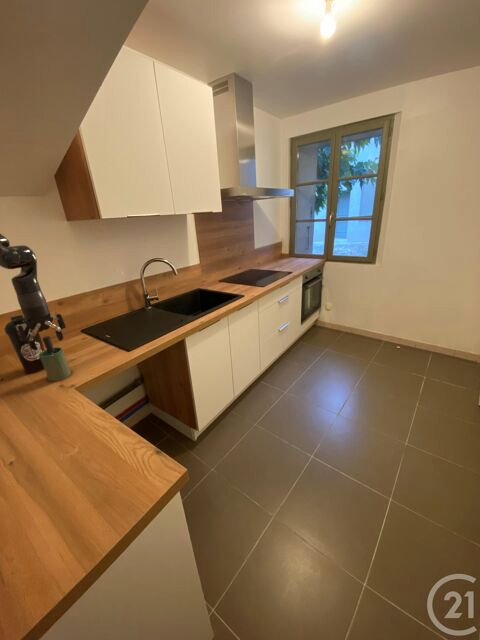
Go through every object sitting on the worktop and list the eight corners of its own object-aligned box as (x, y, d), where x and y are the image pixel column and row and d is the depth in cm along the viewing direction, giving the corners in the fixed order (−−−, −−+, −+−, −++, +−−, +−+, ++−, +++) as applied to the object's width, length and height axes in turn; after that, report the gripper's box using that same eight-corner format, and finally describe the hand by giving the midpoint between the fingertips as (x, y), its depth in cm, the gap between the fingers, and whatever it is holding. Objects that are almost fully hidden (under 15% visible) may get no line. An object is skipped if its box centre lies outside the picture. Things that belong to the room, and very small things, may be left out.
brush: (53, 376, 102) (39, 340, 96) (56, 372, 105) (42, 336, 99) (62, 375, 102) (49, 338, 97) (65, 370, 106) (52, 334, 100)
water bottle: (25, 377, 105) (2, 324, 96) (20, 368, 111) (-2, 318, 103) (54, 366, 111) (35, 316, 103) (48, 359, 118) (30, 311, 109)
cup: (45, 383, 100) (35, 358, 96) (52, 373, 106) (43, 349, 102) (67, 379, 101) (58, 354, 97) (73, 369, 108) (65, 345, 104)
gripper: (50, 297, 100) (63, 335, 106) (4, 308, 89) (22, 350, 95) (59, 299, 96) (72, 339, 102) (13, 311, 85) (30, 355, 91)
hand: (48, 344), depth 99 cm, fingers open, 8 cm apart
